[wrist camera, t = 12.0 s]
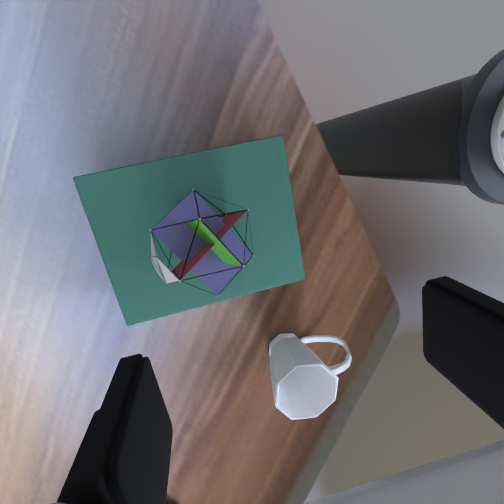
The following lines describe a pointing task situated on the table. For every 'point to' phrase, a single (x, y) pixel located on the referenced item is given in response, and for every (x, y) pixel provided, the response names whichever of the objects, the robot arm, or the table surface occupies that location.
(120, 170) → the lunchbox lid
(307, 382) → the cup
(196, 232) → the geometric puzzle
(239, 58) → the table surface
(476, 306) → the robot arm
